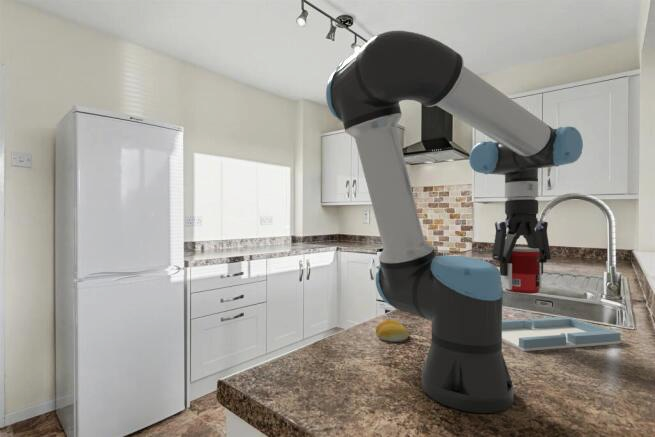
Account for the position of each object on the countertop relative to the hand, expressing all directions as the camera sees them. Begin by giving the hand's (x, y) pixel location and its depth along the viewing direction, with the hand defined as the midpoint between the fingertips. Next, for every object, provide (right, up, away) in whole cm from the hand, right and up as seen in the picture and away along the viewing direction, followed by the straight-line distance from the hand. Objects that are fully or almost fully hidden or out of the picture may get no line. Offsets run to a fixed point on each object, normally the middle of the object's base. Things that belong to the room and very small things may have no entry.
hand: (521, 287), depth 90 cm
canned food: (0, -1, 0) cm, 1 cm away
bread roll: (-33, -13, +2) cm, 36 cm away
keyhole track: (+8, -13, +1) cm, 15 cm away
